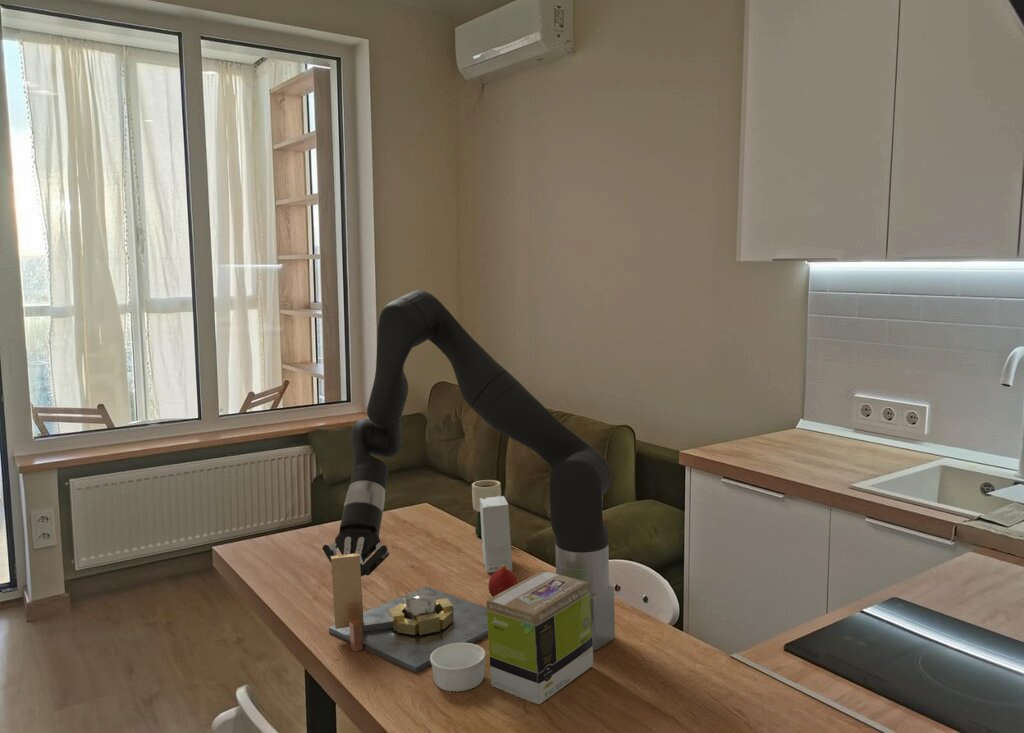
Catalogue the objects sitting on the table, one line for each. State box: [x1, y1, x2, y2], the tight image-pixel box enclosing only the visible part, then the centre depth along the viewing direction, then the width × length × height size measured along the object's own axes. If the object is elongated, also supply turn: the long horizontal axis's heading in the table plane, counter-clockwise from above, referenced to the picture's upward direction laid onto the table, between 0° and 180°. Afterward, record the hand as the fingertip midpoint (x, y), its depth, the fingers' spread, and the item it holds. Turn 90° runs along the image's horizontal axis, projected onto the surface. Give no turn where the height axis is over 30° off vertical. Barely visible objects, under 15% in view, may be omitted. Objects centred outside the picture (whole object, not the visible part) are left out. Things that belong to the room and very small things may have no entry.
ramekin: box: [430, 643, 486, 693], centre depth 129 cm, size 9×9×4 cm
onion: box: [488, 565, 519, 598], centre depth 157 cm, size 6×6×8 cm
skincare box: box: [480, 495, 513, 574], centre depth 177 cm, size 8×6×15 cm
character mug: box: [471, 479, 502, 537], centre depth 198 cm, size 11×7×13 cm, turn 40°
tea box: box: [486, 570, 594, 705], centre depth 128 cm, size 15×10×15 cm, turn 141°
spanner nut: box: [330, 553, 454, 635], centre depth 147 cm, size 21×12×14 cm, turn 89°
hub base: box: [328, 586, 488, 674], centre depth 147 cm, size 24×26×6 cm
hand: (347, 595), depth 146 cm, fingers closed
